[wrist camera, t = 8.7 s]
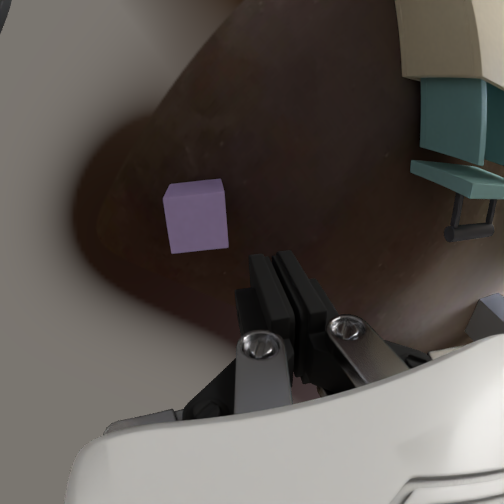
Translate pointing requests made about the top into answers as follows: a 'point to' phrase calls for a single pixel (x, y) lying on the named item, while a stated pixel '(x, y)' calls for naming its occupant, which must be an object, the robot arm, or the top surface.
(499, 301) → the perfume bottle
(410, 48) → the drawer cabinet
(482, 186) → the teal drawer
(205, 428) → the robot arm
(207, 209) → the lavender cube
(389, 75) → the top surface
